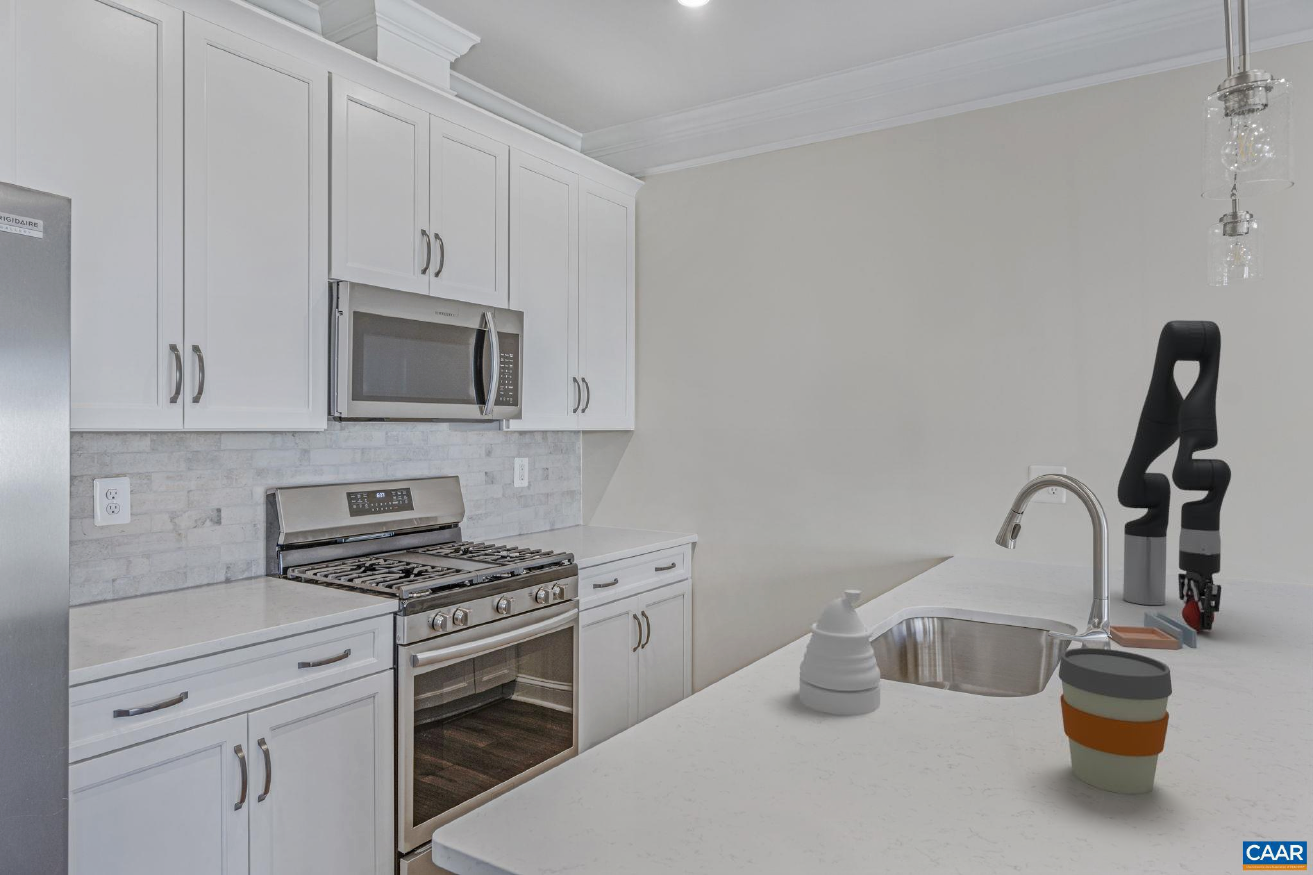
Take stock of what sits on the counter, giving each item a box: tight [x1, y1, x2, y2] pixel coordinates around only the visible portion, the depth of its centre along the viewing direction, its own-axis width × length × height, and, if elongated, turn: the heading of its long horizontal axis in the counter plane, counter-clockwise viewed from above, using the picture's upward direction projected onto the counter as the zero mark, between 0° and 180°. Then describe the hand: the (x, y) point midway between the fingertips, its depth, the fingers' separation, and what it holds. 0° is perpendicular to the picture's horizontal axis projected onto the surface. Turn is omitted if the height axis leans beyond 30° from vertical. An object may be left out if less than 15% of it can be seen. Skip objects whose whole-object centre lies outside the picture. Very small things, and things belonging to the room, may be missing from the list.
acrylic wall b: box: [1143, 612, 1184, 649], centre depth 168 cm, size 16×1×4 cm, turn 170°
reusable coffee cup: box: [1058, 647, 1173, 795], centre depth 101 cm, size 13×13×15 cm
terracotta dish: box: [1110, 625, 1179, 650], centre depth 165 cm, size 10×10×2 cm
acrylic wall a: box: [1156, 611, 1198, 649], centre depth 168 cm, size 16×1×4 cm, turn 170°
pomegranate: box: [1181, 597, 1215, 633], centre depth 173 cm, size 6×6×8 cm
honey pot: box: [798, 589, 881, 716], centre depth 128 cm, size 13×13×18 cm
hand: (1198, 625), depth 173 cm, fingers closed on pomegranate, 6 cm apart
